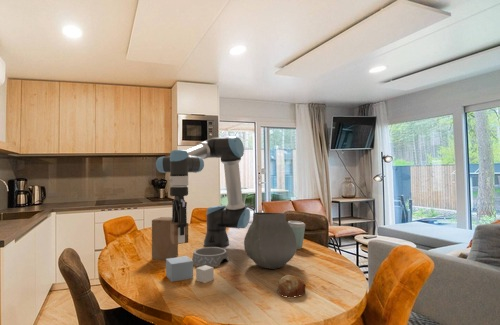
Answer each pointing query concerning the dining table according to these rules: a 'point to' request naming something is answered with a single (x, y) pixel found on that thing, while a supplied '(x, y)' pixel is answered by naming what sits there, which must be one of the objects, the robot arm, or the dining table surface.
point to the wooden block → (162, 239)
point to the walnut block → (175, 233)
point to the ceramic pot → (270, 240)
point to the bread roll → (291, 286)
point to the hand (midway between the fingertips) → (179, 241)
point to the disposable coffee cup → (298, 232)
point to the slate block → (179, 268)
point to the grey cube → (204, 273)
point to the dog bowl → (209, 256)
